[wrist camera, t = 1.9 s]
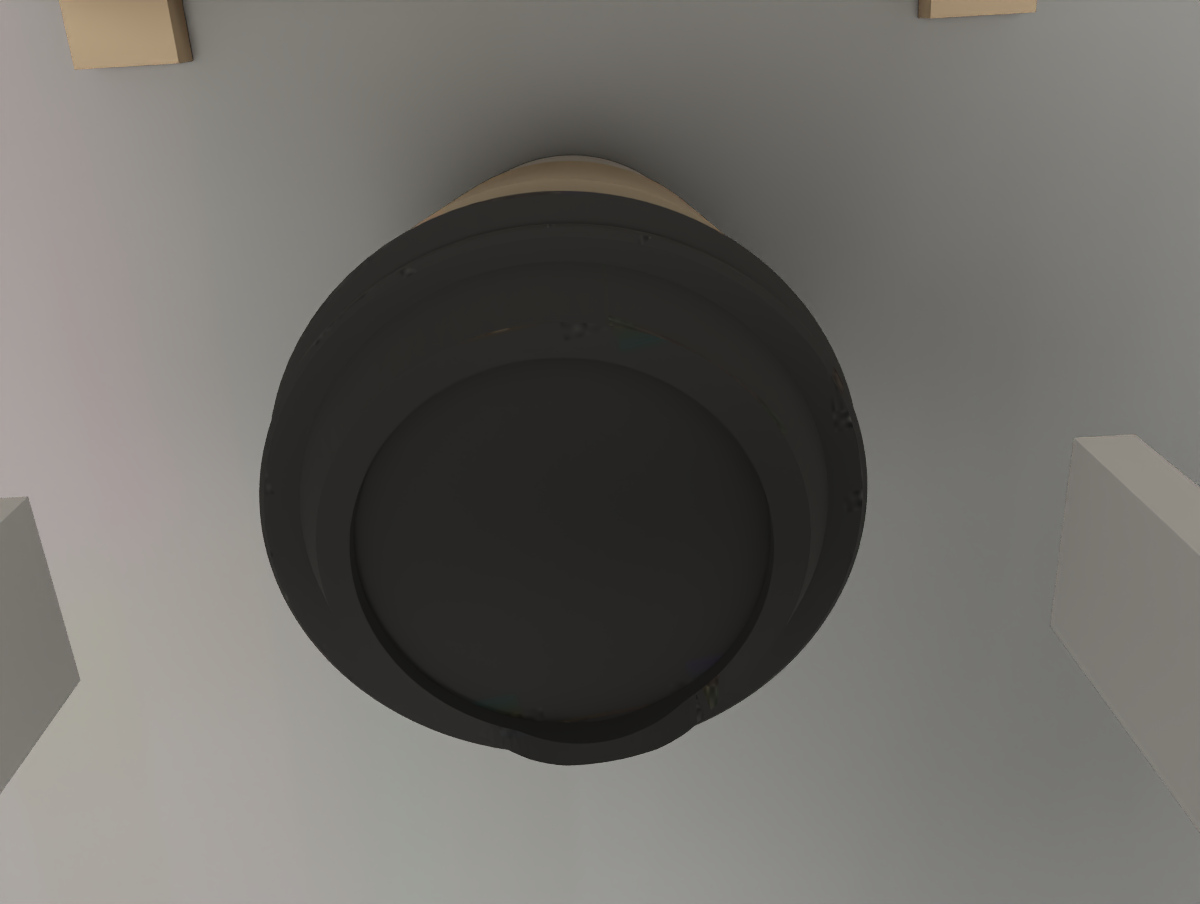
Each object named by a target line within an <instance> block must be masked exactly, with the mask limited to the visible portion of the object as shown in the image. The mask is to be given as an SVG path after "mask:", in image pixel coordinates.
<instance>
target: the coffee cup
mask: <svg viewBox="0 0 1200 904" xmlns="http://www.w3.org/2000/svg"><path fill="white" fill-rule="evenodd" d="M259 502H260V517H261V525H262V532H263V537H264V542H265V547H266V551H267V555H268V558H269V562H270V565H271V568H272V571H273V573H274V576H275V579H276V581H277V584H278V586H279V588H280V590H281V593H282V595H283V597H284V599H285V601H286V603H287V604H288V606H289V608H290V610H291V612H292V613H293V615H294V617H295V618H296V620H297V621H298V623H299V624H300V626H301V627H302V629H303V630H304V632H305V633H306V634H307V636H308V637H309V638H310V640H311V641H312V642H313V643H314V645H315V646H316V647H317V648H318V649H319V651H320V652H321V653H322V654H323V655H324V656H325V657H326V658H327V659H328V660H329V661H330V662H331V663H332V665H333V666H334V667H336V668H337V669H338V670H339V671H340V672H341V673H342V674H343V675H344V676H345V677H346V678H348V679H349V680H350V681H351V682H352V683H354V684H355V685H356V686H357V687H359V688H360V689H361V690H363V691H364V692H365V693H367V694H368V695H370V696H371V697H372V698H374V699H375V700H377V701H378V702H380V703H381V704H383V705H385V706H386V707H388V708H390V709H391V710H393V711H395V712H397V713H399V714H400V715H402V716H404V717H406V718H408V719H410V720H412V721H414V722H416V723H419V724H421V725H423V726H425V727H428V728H430V729H433V730H435V731H438V732H440V733H443V734H446V735H449V736H452V737H455V738H458V739H461V740H465V741H469V742H472V743H476V744H481V745H485V746H490V747H495V748H501V749H507V750H510V751H512V752H514V753H516V754H518V755H521V756H523V757H526V758H528V759H531V760H535V761H539V762H544V763H549V764H556V765H584V764H594V763H602V762H608V761H614V760H619V759H624V758H628V757H632V756H636V755H640V754H643V753H646V752H650V751H653V750H656V749H658V748H660V747H662V746H664V745H666V744H668V743H670V742H672V741H674V740H675V739H677V738H679V737H680V736H682V735H683V734H685V733H686V732H688V731H689V730H690V729H691V728H693V727H694V726H695V725H697V724H699V723H702V722H704V721H706V720H708V719H710V718H712V717H714V716H716V715H718V714H720V713H722V712H724V711H725V710H727V709H729V708H731V707H732V706H734V705H736V704H737V703H739V702H741V701H742V700H744V699H745V698H747V697H748V696H750V695H751V694H752V693H754V692H755V691H757V690H758V689H759V688H761V687H762V686H763V685H765V684H766V683H767V682H768V681H770V680H771V679H772V678H773V677H774V676H776V675H777V674H778V673H779V672H780V671H781V670H782V669H783V668H785V667H786V666H787V665H788V664H789V663H790V662H791V661H792V660H793V659H794V658H795V657H796V656H797V655H798V654H799V652H800V651H801V650H802V649H803V648H804V647H805V646H806V645H807V643H808V642H809V641H810V640H811V639H812V637H813V636H814V635H815V633H816V632H817V631H818V630H819V628H820V627H821V625H822V624H823V623H824V621H825V620H826V618H827V617H828V615H829V613H830V612H831V610H832V609H833V607H834V605H835V603H836V602H837V600H838V598H839V596H840V594H841V592H842V590H843V588H844V586H845V584H846V582H847V579H848V577H849V575H850V572H851V570H852V567H853V564H854V561H855V558H856V555H857V552H858V549H859V545H860V541H861V537H862V532H863V527H864V521H865V514H866V503H867V468H866V458H865V451H864V445H863V440H862V435H861V431H860V427H859V424H858V420H857V417H856V414H855V411H854V408H853V404H852V399H851V396H850V392H849V389H848V386H847V383H846V380H845V377H844V374H843V372H842V369H841V367H840V364H839V362H838V360H837V358H836V356H835V353H834V351H833V349H832V347H831V345H830V344H829V342H828V340H827V338H826V336H825V335H824V333H823V331H822V330H821V328H820V326H819V325H818V323H817V322H816V320H815V319H814V317H813V316H812V315H811V313H810V312H809V310H808V309H807V308H806V306H805V305H804V304H803V303H802V301H801V300H800V299H799V298H798V297H797V295H796V294H795V293H794V292H793V291H792V290H791V289H790V287H789V286H788V285H787V284H786V283H785V282H784V281H783V280H782V279H781V278H780V277H779V276H778V275H777V274H776V273H775V272H774V271H772V270H771V269H770V268H769V267H768V266H767V265H766V264H765V263H763V262H762V261H761V260H760V259H759V258H757V257H756V256H755V255H753V254H752V253H751V252H749V251H748V250H747V249H745V248H744V247H742V246H741V245H740V244H738V243H737V242H735V241H734V240H732V239H730V238H729V237H727V236H726V235H724V234H723V233H722V232H721V231H719V230H718V229H717V228H716V227H715V226H713V225H712V224H711V223H710V222H709V221H707V220H706V219H705V218H704V217H703V216H701V215H700V214H699V213H698V212H697V211H695V210H694V209H693V208H692V207H691V206H689V205H688V204H687V203H686V202H685V201H683V200H682V199H681V198H680V197H678V196H677V195H676V194H674V193H673V192H671V191H670V190H668V189H667V188H665V187H663V186H662V185H660V184H658V183H656V182H654V181H653V180H651V179H649V178H647V177H645V176H644V175H642V174H640V173H639V172H637V171H635V170H633V169H631V168H629V167H626V166H624V165H621V164H619V163H616V162H613V161H609V160H605V159H601V158H596V157H589V156H576V155H568V156H555V157H548V158H543V159H538V160H535V161H531V162H528V163H525V164H522V165H520V166H517V167H515V168H513V169H511V170H509V171H507V172H505V173H503V174H500V175H498V176H495V177H493V178H491V179H489V180H487V181H485V182H483V183H481V184H479V185H478V186H476V187H474V188H473V189H471V190H469V191H468V192H466V193H465V194H463V195H462V196H460V197H459V198H457V199H455V200H454V201H452V202H451V203H449V204H448V205H446V206H445V207H443V208H442V209H440V210H438V211H437V212H435V213H434V214H432V215H431V216H429V217H428V218H426V219H425V220H423V221H421V222H420V223H418V224H417V225H416V226H414V227H413V228H412V229H410V230H408V231H407V232H405V233H403V234H402V235H400V236H399V237H397V238H395V239H394V240H392V241H391V242H389V243H387V244H386V245H384V246H383V247H382V248H380V249H379V250H378V251H376V252H375V253H374V254H372V255H371V256H370V257H368V258H367V259H366V260H365V261H364V262H362V263H361V264H360V265H359V266H358V267H357V268H356V269H355V270H354V271H352V272H351V273H350V274H349V275H348V276H347V277H346V278H345V279H344V280H343V281H342V282H341V283H340V284H339V285H338V287H337V288H336V289H335V290H334V291H333V292H332V293H331V294H330V295H329V297H328V298H327V299H326V300H325V302H324V303H323V304H322V305H321V307H320V308H319V309H318V311H317V312H316V314H315V315H314V316H313V318H312V319H311V321H310V322H309V324H308V326H307V327H306V329H305V331H304V332H303V334H302V336H301V337H300V339H299V341H298V343H297V345H296V347H295V349H294V351H293V353H292V355H291V357H290V359H289V362H288V364H287V367H286V370H285V372H284V375H283V377H282V380H281V383H280V386H279V390H278V393H277V397H276V401H275V405H274V410H273V414H272V421H271V424H270V427H269V430H268V434H267V438H266V442H265V446H264V451H263V457H262V463H261V471H260V488H259Z"/></svg>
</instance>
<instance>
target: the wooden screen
mask: <svg viewBox="0 0 1200 904" xmlns="http://www.w3.org/2000/svg"><path fill="white" fill-rule="evenodd" d="M59 3H60V7H61V11H62V16H63V20H64V25H65V29H66V34H67V38H68V43H69V47H70V52H71V56H72V60H73V65H74V69H92V68H108V67H125V66H142V65H159V64H175V63H183V62H189V61H193V58H192V53H191V47H190V42H189V37H188V31H187V26H186V20H185V15H184V10H183V4H182V0H59ZM1036 4H1037V0H919V9H918V18H946V17H963V16H979V15H996V14H1013V13H1030V12H1036Z"/></svg>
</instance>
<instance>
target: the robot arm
mask: <svg viewBox="0 0 1200 904" xmlns="http://www.w3.org/2000/svg"><path fill="white" fill-rule="evenodd" d="M1050 627H1051V628H1052V629H1053V631H1054V632H1055V634H1056V635H1057V636H1058V638H1059V639H1060V640H1061V642H1062V643H1063V645H1064V646H1065V647H1066V649H1067V650H1068V652H1069V653H1070V654H1071V656H1072V657H1073V658H1074V660H1075V661H1076V663H1077V664H1078V665H1079V667H1080V668H1081V669H1082V671H1083V672H1084V674H1085V675H1086V676H1087V678H1088V679H1089V681H1090V682H1091V683H1092V685H1093V686H1094V687H1095V689H1096V690H1097V692H1098V693H1099V694H1100V696H1101V697H1102V698H1103V700H1104V701H1105V703H1106V704H1107V705H1108V707H1109V708H1110V709H1111V711H1112V712H1113V714H1114V715H1115V716H1116V718H1117V719H1118V721H1119V722H1120V723H1121V725H1122V726H1123V727H1124V729H1125V730H1126V732H1127V733H1128V734H1129V736H1130V737H1131V738H1132V740H1133V741H1134V743H1135V744H1136V745H1137V747H1138V748H1139V750H1140V751H1141V752H1142V754H1143V755H1144V756H1145V758H1146V759H1147V761H1148V762H1149V763H1150V765H1151V766H1152V767H1153V769H1154V770H1155V772H1156V773H1157V774H1158V776H1159V777H1160V778H1161V780H1162V781H1163V783H1164V784H1165V785H1166V787H1167V788H1168V790H1169V791H1170V792H1171V794H1172V795H1173V796H1174V798H1175V799H1176V801H1177V802H1178V803H1179V805H1180V806H1181V807H1182V809H1183V810H1184V812H1185V813H1186V814H1187V816H1188V817H1189V819H1190V820H1191V821H1192V823H1193V824H1194V825H1195V827H1196V828H1197V830H1198V831H1199V832H1200V487H1198V486H1197V485H1196V484H1195V483H1193V482H1192V481H1191V480H1190V479H1189V478H1187V477H1186V476H1185V475H1184V474H1183V473H1181V472H1180V471H1179V470H1178V469H1177V468H1175V467H1174V466H1173V465H1172V464H1170V463H1169V462H1168V461H1167V460H1166V459H1164V458H1163V457H1162V456H1161V455H1160V454H1158V453H1157V452H1156V451H1155V450H1153V449H1152V448H1151V447H1150V446H1149V445H1147V444H1146V443H1145V442H1144V441H1143V440H1141V439H1140V438H1139V437H1138V436H1137V435H1135V434H1129V435H1112V436H1094V437H1076V438H1074V439H1073V447H1072V455H1071V463H1070V471H1069V479H1068V487H1067V495H1066V503H1065V511H1064V519H1063V527H1062V535H1061V543H1060V551H1059V559H1058V567H1057V575H1056V583H1055V591H1054V599H1053V607H1052V614H1051V622H1050ZM79 681H80V677H79V674H78V670H77V667H76V663H75V660H74V656H73V653H72V649H71V646H70V642H69V639H68V635H67V632H66V628H65V625H64V621H63V618H62V614H61V610H60V607H59V603H58V600H57V596H56V593H55V589H54V586H53V582H52V579H51V575H50V572H49V568H48V565H47V561H46V558H45V554H44V551H43V547H42V544H41V540H40V537H39V533H38V530H37V526H36V523H35V519H34V516H33V512H32V509H31V505H30V502H29V498H28V497H12V498H0V794H1V792H2V791H3V789H4V788H5V786H6V785H7V784H8V782H9V781H10V779H11V778H12V777H13V775H14V774H15V772H16V771H17V769H18V768H19V767H20V765H21V764H22V762H23V761H24V759H25V758H26V757H27V755H28V754H29V752H30V751H31V750H32V748H33V747H34V745H35V744H36V742H37V741H38V740H39V738H40V737H41V735H42V734H43V732H44V731H45V730H46V728H47V727H48V725H49V724H50V723H51V721H52V720H53V718H54V717H55V715H56V714H57V713H58V711H59V710H60V708H61V707H62V705H63V704H64V703H65V701H66V700H67V698H68V697H69V696H70V694H71V693H72V691H73V690H74V688H75V687H76V686H77V684H78V683H79Z"/></svg>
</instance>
